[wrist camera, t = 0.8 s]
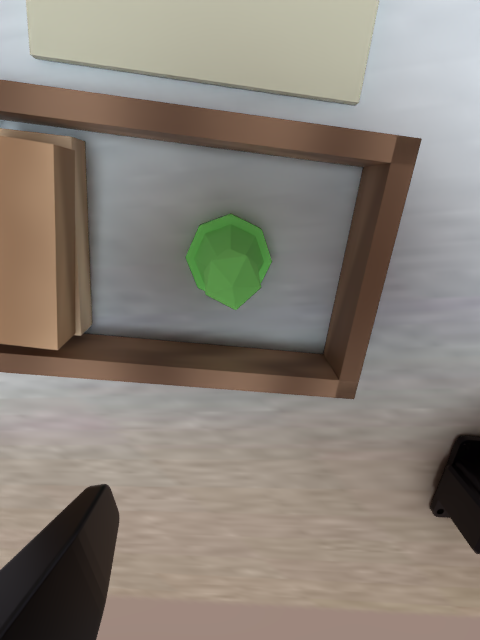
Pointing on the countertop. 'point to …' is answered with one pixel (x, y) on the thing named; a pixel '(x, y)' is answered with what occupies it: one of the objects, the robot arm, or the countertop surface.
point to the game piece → (229, 259)
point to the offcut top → (36, 243)
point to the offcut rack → (249, 136)
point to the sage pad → (215, 41)
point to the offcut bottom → (81, 221)
